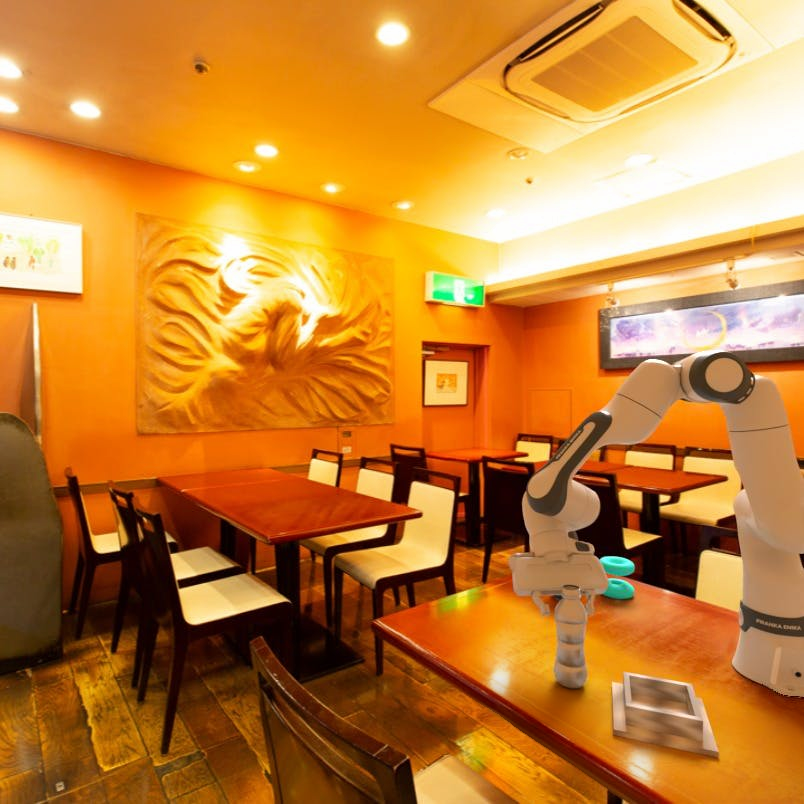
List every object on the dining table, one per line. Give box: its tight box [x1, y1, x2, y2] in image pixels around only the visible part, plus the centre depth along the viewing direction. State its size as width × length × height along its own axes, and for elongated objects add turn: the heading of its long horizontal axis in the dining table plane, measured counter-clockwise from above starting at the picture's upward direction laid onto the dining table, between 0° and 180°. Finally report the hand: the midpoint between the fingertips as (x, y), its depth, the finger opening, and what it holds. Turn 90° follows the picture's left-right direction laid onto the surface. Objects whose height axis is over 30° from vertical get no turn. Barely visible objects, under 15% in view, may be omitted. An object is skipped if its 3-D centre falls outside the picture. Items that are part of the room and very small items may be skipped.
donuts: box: [599, 556, 636, 600], centre depth 156 cm, size 10×10×10 cm
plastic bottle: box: [553, 584, 588, 689], centre depth 108 cm, size 6×7×20 cm
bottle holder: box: [611, 671, 720, 758], centre depth 97 cm, size 16×16×4 cm
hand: (568, 614), depth 109 cm, fingers open, 8 cm apart
